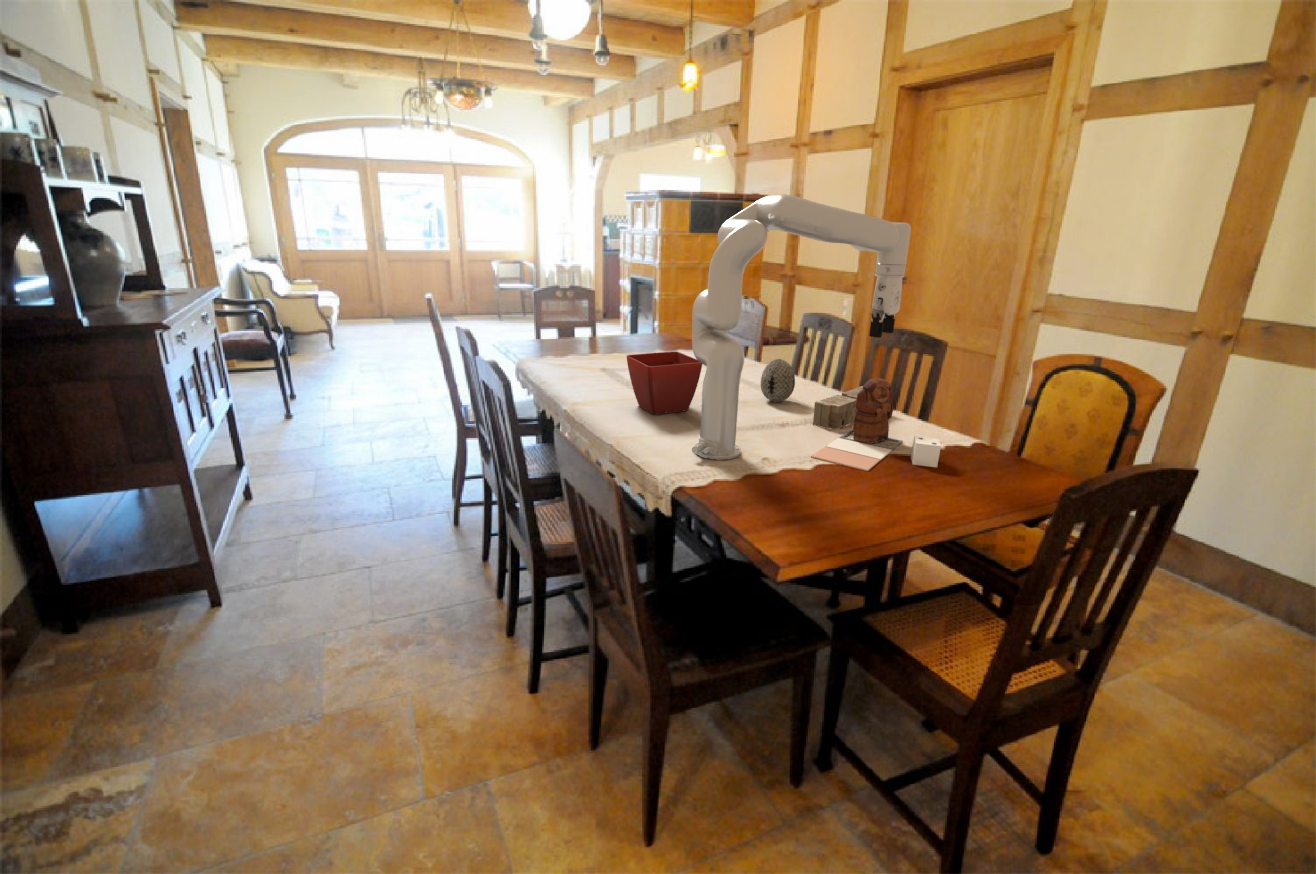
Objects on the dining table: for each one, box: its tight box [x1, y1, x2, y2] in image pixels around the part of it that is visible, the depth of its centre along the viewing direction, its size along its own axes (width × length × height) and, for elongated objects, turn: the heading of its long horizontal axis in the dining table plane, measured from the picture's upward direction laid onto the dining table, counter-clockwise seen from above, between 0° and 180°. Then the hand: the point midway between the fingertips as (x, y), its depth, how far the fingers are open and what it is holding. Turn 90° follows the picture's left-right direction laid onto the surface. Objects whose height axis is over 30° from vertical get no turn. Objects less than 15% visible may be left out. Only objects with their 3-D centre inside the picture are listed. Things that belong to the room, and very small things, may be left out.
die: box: [910, 435, 942, 468], centre depth 167 cm, size 6×6×6 cm
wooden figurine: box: [852, 377, 895, 444], centre depth 181 cm, size 12×6×18 cm, turn 124°
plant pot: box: [626, 351, 703, 415], centre depth 206 cm, size 19×19×17 cm
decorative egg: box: [760, 358, 796, 403], centre depth 218 cm, size 12×12×15 cm
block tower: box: [812, 385, 864, 430], centre depth 203 cm, size 8×8×29 cm
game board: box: [810, 429, 904, 472], centre depth 176 cm, size 29×15×1 cm, turn 143°
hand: (881, 334), depth 175 cm, fingers open, 9 cm apart
